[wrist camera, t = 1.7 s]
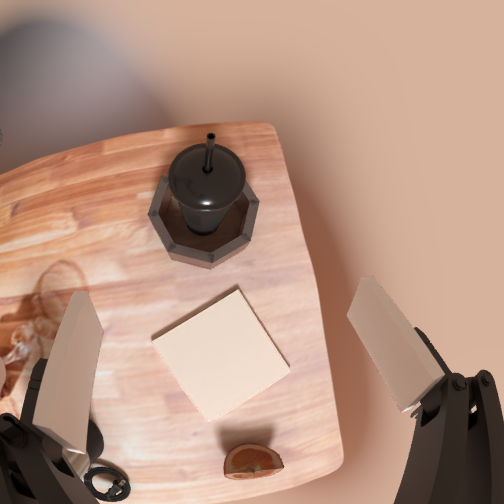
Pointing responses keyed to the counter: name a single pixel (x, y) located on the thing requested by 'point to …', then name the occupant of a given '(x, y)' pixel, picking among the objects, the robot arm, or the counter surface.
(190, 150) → the drinking cup
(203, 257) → the grey octagonal ring
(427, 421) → the robot arm
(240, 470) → the fruit slice
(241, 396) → the coaster
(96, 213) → the counter surface
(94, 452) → the milk frother
